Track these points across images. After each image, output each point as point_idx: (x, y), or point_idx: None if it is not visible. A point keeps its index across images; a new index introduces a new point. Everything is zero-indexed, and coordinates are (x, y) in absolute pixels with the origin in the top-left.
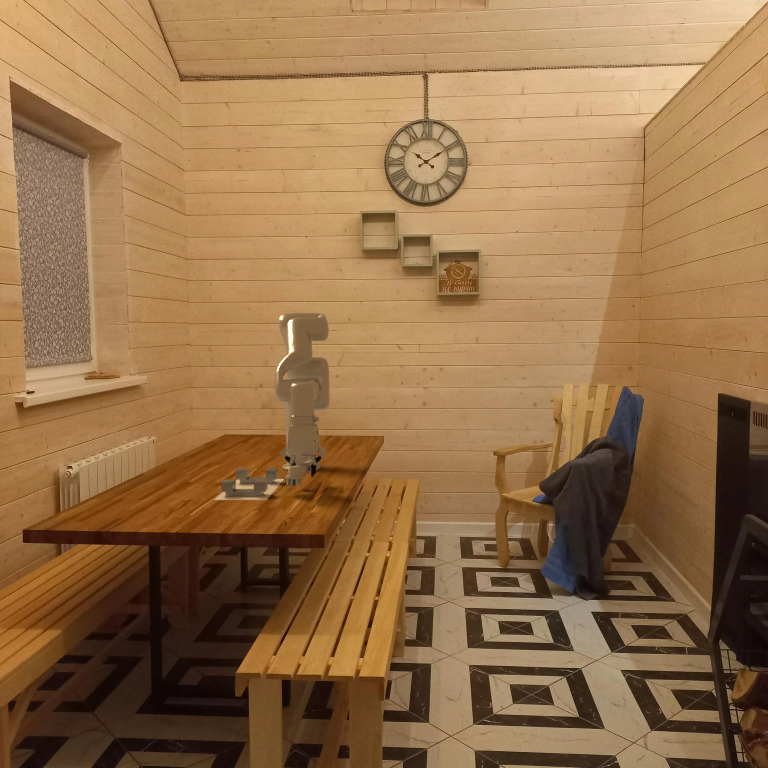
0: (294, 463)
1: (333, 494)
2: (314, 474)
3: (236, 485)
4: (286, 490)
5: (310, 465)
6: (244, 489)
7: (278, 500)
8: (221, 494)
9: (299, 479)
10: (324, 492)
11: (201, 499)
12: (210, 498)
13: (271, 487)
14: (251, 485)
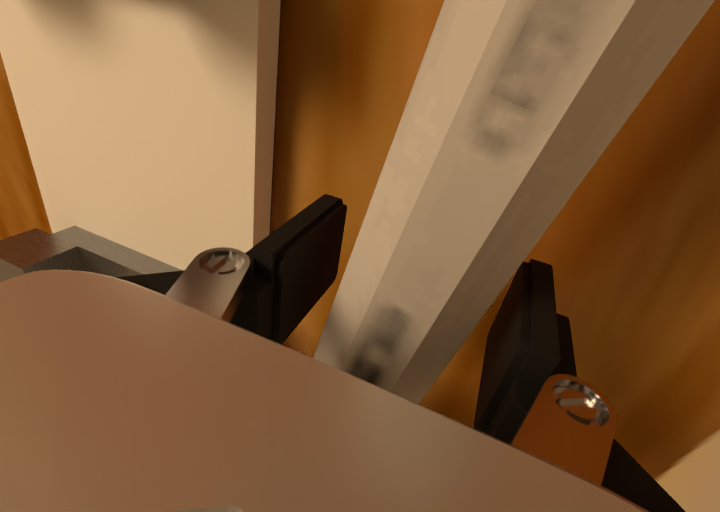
0: (265, 316)
1: (672, 334)
2: (549, 268)
3: (13, 10)
4: (330, 95)
5: (500, 287)
6: (115, 271)
7: (301, 331)
8: (55, 229)
9: None
10: (621, 249)
11: (16, 198)
12: (35, 191)
13: (221, 133)
14: (89, 29)
